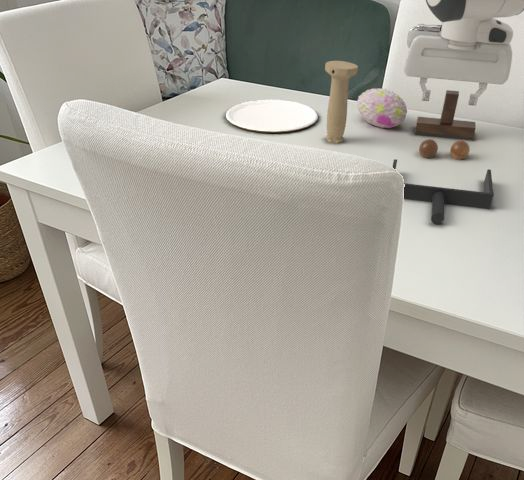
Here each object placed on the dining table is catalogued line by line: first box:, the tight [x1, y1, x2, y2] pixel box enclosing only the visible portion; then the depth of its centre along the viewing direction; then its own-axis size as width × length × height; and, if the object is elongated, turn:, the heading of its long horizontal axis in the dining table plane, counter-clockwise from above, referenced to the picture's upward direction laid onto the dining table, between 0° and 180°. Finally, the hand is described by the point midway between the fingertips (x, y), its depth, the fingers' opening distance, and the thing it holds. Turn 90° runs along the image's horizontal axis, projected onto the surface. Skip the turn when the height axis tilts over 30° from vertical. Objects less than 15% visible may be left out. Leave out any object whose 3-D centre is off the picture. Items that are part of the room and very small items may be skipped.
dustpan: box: [392, 158, 495, 225], centre depth 98 cm, size 17×19×3 cm
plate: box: [225, 99, 319, 134], centre depth 129 cm, size 21×21×1 cm
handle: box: [324, 60, 359, 144], centre depth 114 cm, size 5×6×15 cm
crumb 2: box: [449, 140, 470, 161], centre depth 112 cm, size 4×4×4 cm
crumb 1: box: [418, 138, 439, 159], centre depth 112 cm, size 4×4×4 cm
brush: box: [414, 89, 477, 142], centre depth 119 cm, size 12×4×9 cm, turn 75°
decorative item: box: [356, 87, 408, 129], centre depth 125 cm, size 9×11×10 cm
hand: (448, 102), depth 118 cm, fingers open, 8 cm apart
